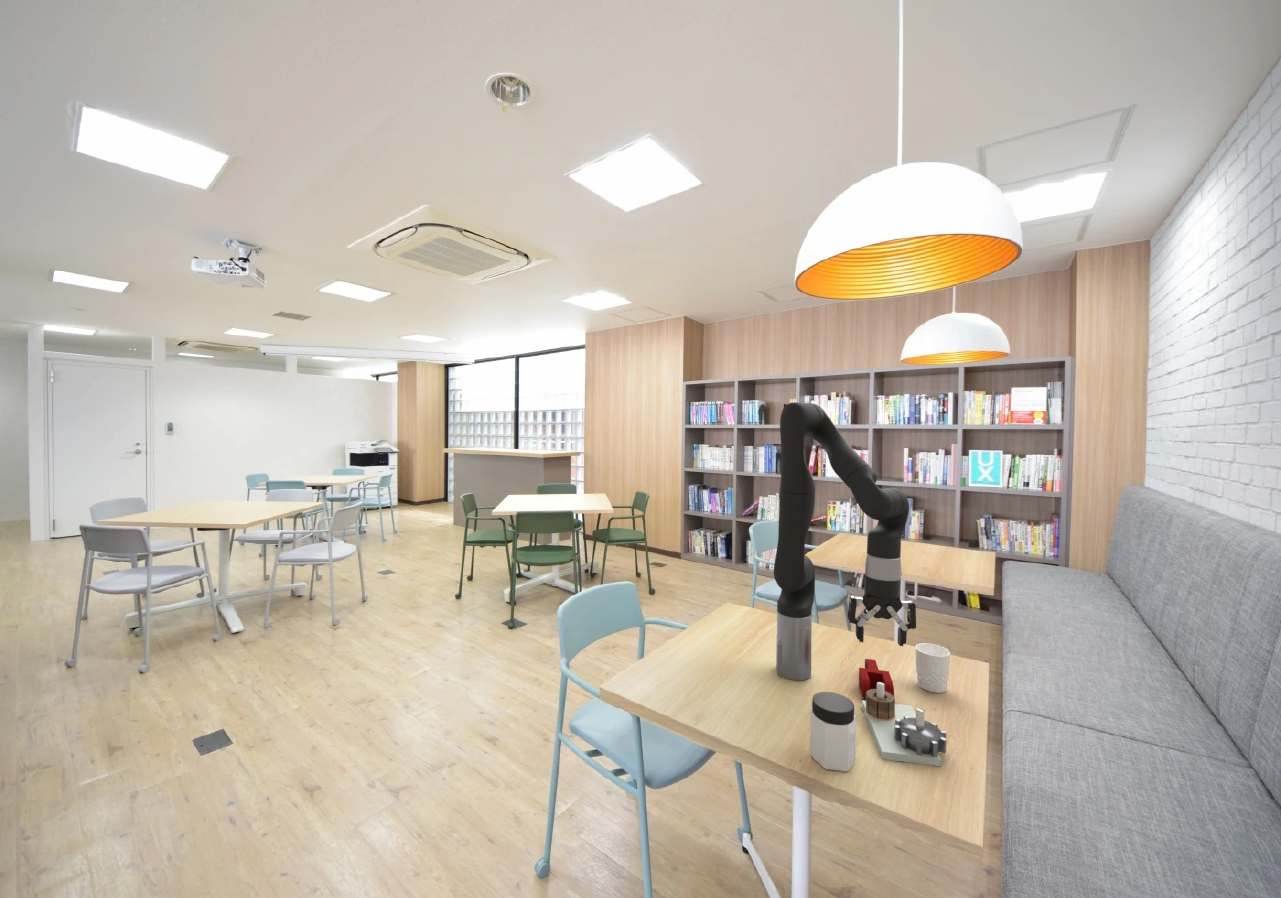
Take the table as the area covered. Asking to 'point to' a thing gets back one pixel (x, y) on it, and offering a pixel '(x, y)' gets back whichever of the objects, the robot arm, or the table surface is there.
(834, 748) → the jar
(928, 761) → the board
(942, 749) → the fixed gear
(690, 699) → the table surface
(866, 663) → the mechanical linkage
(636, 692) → the table surface
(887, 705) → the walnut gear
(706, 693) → the table surface
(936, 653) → the white cup
